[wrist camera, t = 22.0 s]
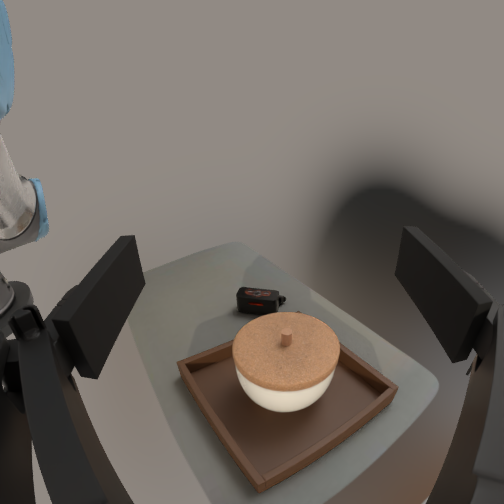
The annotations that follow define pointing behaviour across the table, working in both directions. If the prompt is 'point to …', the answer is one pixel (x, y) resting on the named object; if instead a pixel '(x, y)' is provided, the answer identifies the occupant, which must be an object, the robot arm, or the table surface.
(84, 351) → the robot arm
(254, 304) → the wireless earbuds
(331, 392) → the tray
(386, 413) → the table surface
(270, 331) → the trinket box
